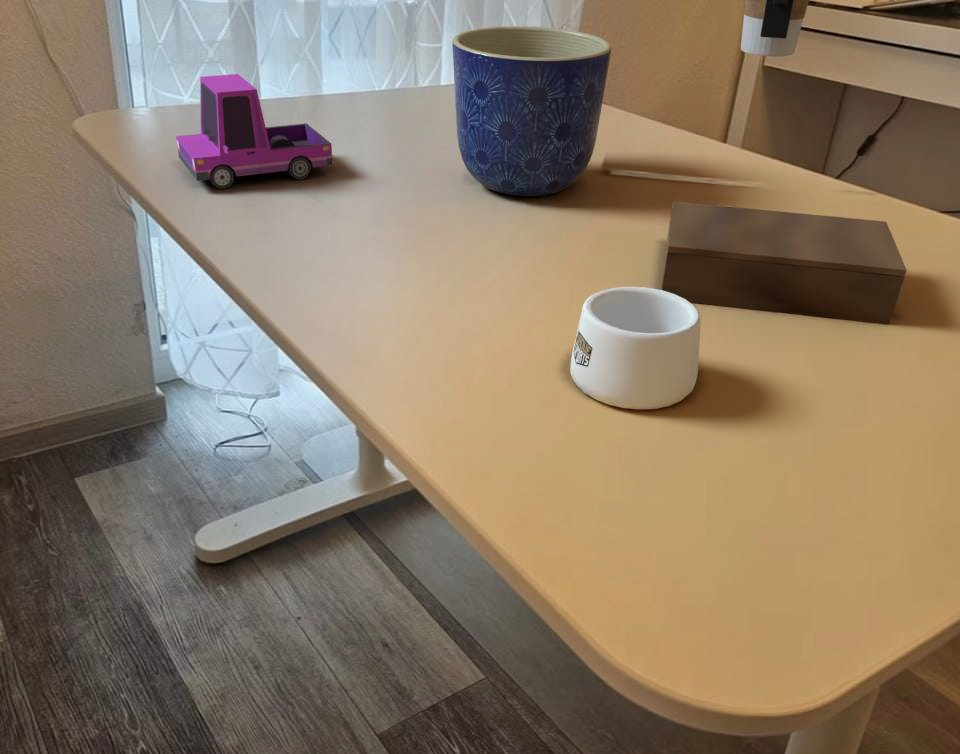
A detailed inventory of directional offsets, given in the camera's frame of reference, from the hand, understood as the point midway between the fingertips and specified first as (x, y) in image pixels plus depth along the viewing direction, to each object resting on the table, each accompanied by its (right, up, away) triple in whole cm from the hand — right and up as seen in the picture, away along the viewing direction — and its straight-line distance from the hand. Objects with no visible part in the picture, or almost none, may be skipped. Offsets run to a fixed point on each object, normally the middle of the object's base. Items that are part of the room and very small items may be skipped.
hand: (771, 29), depth 106 cm
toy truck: (-59, -14, +5) cm, 61 cm away
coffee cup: (0, -2, +1) cm, 2 cm away
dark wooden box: (-5, -32, -17) cm, 37 cm away
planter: (-27, -16, +5) cm, 32 cm away
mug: (-21, -43, -31) cm, 57 cm away
